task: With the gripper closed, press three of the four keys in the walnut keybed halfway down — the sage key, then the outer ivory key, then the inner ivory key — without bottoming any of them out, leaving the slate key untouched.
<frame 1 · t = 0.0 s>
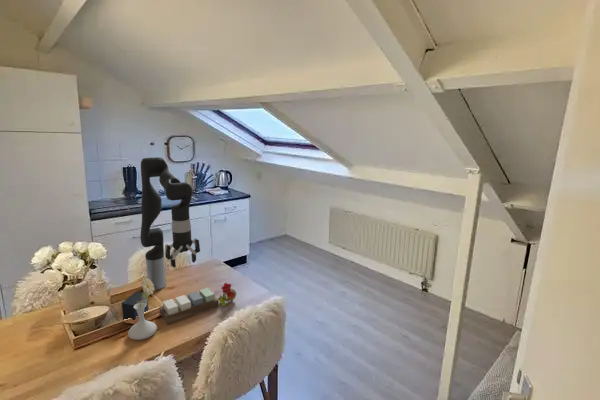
hand: (183, 264, 146), 29 cm above the table, fingers open, 8 cm apart
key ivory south: (170, 308, 157), point 5 cm above the table, slide at 0.0 cm
small box: (136, 318, 157), on the table
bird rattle: (227, 303, 171), on the table
key slate: (195, 299, 164), point 5 cm above the table, slide at 0.0 cm
key ivory inner: (183, 303, 161), point 5 cm above the table, slide at 0.0 cm
flower in vase: (144, 333, 146), on the table
key sage: (207, 296, 168), point 5 cm above the table, slide at 0.0 cm
keybed: (190, 310, 164), on the table
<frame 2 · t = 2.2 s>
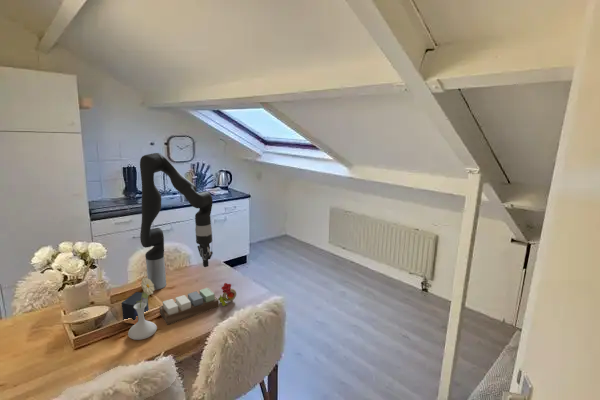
hand: (205, 266, 166), 20 cm above the table, fingers closed
nothing on the table moved.
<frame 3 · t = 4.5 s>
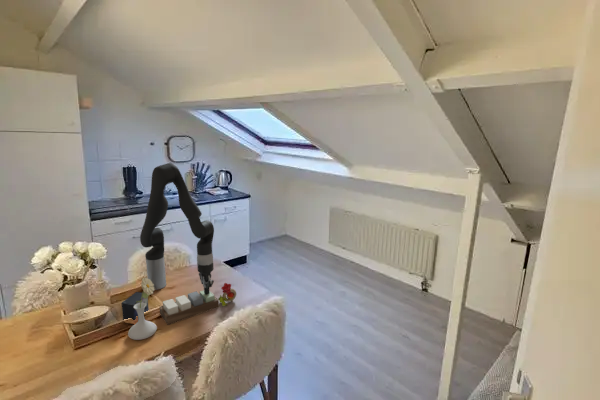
hand: (206, 293, 167), 6 cm above the table, fingers closed
key sage: (207, 297, 168), point 4 cm above the table, slide at -0.8 cm, touching gripper
everything else where it was.
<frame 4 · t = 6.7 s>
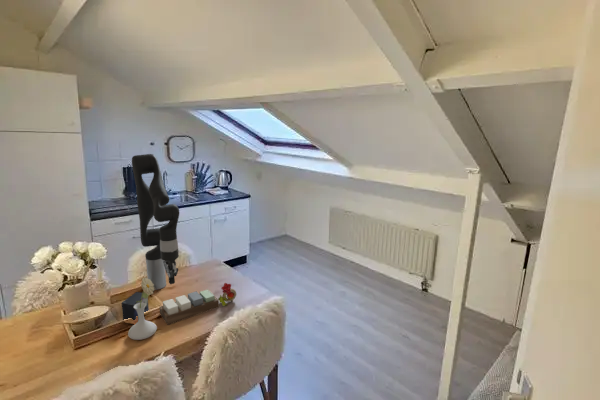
hand: (171, 283, 155), 17 cm above the table, fingers closed
key sage: (207, 297, 168), point 4 cm above the table, slide at -0.9 cm
everything else where it was.
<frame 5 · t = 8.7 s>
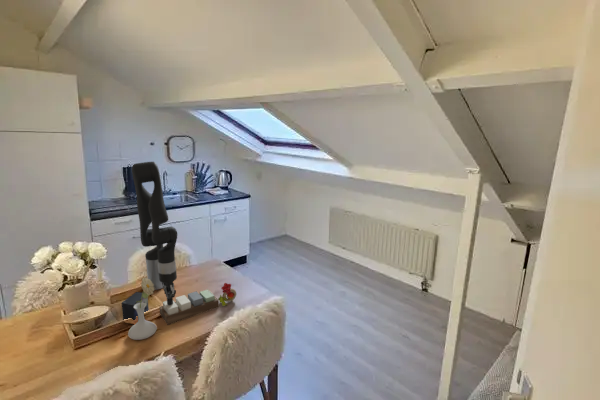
hand: (170, 304, 156), 7 cm above the table, fingers closed
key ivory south: (170, 308, 157), point 5 cm above the table, slide at -0.2 cm, touching gripper
everything else where it was.
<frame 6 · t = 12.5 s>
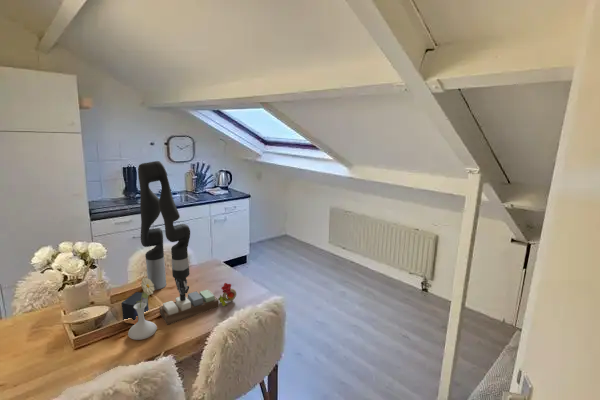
hand: (182, 300, 160), 7 cm above the table, fingers closed
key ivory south: (170, 309, 157), point 4 cm above the table, slide at -0.9 cm
key ivory inner: (183, 304, 161), point 5 cm above the table, slide at -0.1 cm, touching gripper
everything else where it was.
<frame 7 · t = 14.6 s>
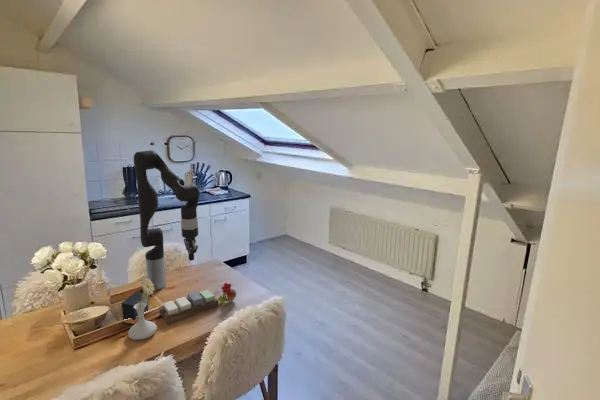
hand: (191, 259, 164), 24 cm above the table, fingers closed
key ivory inner: (183, 305, 161), point 4 cm above the table, slide at -0.9 cm
everything else where it was.
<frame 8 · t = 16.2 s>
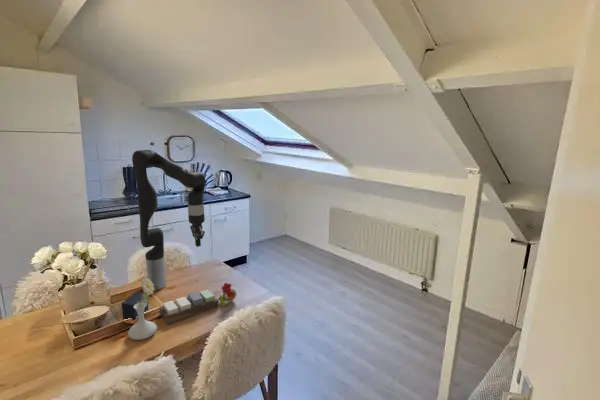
hand: (198, 245, 168), 29 cm above the table, fingers closed
nothing on the table moved.
at the end: key sage slide at -0.9 cm; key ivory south slide at -0.9 cm; key slate slide at 0.0 cm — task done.
